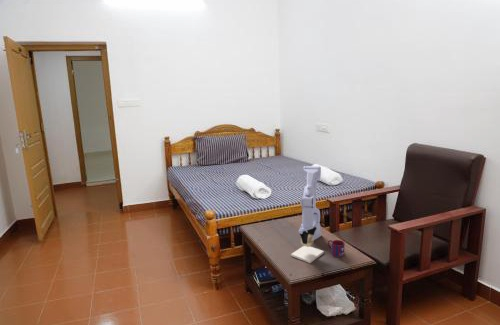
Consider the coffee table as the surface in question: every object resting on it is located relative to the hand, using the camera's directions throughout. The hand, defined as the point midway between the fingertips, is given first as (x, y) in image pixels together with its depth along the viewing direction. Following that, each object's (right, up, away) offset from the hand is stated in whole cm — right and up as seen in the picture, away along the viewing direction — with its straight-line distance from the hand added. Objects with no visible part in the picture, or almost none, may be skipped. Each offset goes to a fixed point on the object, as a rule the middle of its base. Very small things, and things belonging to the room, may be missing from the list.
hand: (307, 241), depth 182 cm
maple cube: (0, -1, +1) cm, 2 cm away
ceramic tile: (0, -7, +2) cm, 8 cm away
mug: (+16, -7, +2) cm, 17 cm away
